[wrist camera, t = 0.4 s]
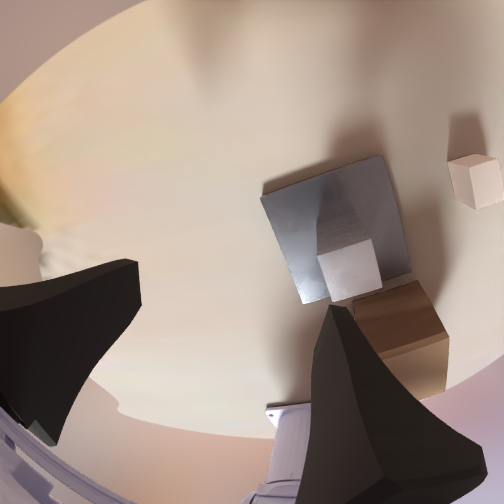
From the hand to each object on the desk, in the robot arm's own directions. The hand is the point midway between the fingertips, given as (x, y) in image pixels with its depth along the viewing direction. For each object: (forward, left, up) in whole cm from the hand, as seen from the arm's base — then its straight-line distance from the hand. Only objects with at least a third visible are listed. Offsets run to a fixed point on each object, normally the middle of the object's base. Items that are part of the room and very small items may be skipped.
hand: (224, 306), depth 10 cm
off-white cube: (-1, -14, -10) cm, 17 cm away
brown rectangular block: (-10, -6, -10) cm, 15 cm away
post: (-2, -4, -10) cm, 11 cm away
